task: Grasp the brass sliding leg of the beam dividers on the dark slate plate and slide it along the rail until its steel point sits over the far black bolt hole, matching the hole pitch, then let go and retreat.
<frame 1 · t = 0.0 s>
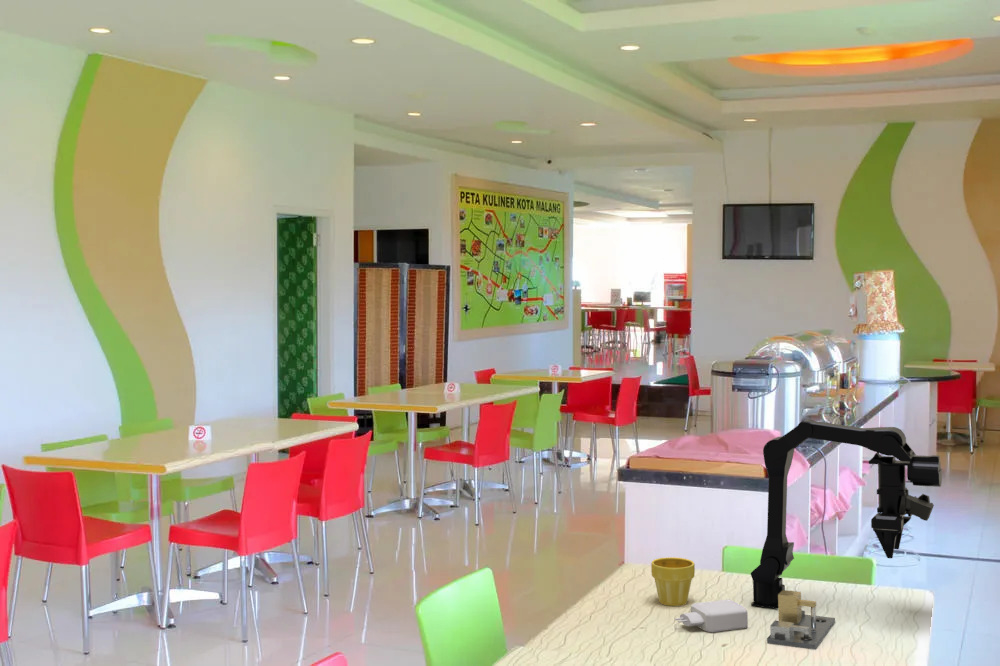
hand: (893, 553, 237), 15 cm above the table, fingers open, 9 cm apart
charger: (707, 628, 236), on the table
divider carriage: (798, 610, 230), point 5 cm above the table, slide at 0.0 cm
plant pot: (673, 603, 255), on the table
dividers base: (802, 632, 229), on the table
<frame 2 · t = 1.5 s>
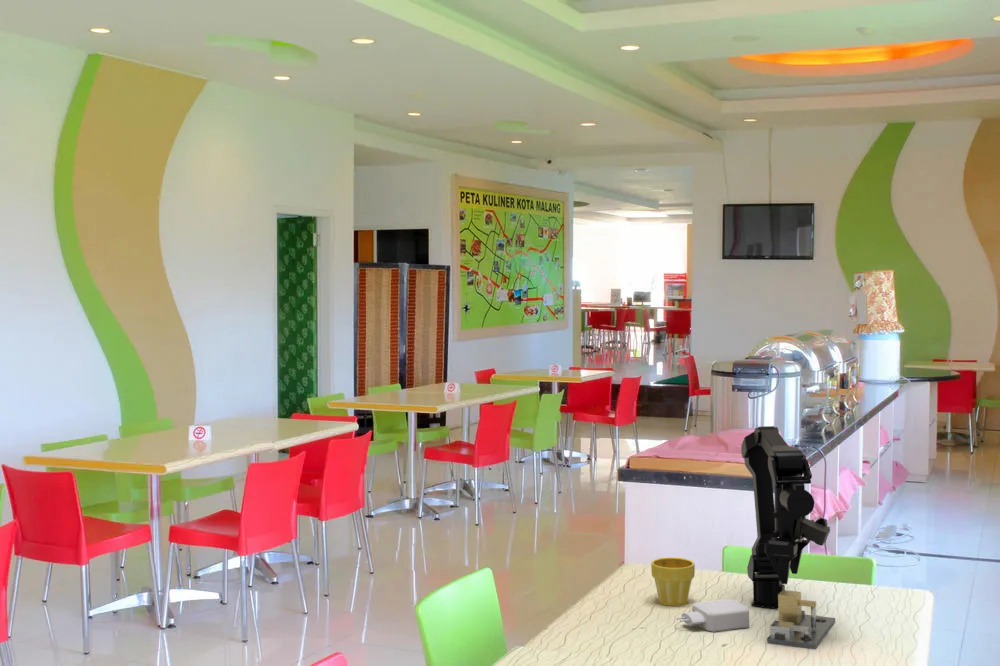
hand: (789, 578, 230), 11 cm above the table, fingers open, 9 cm apart
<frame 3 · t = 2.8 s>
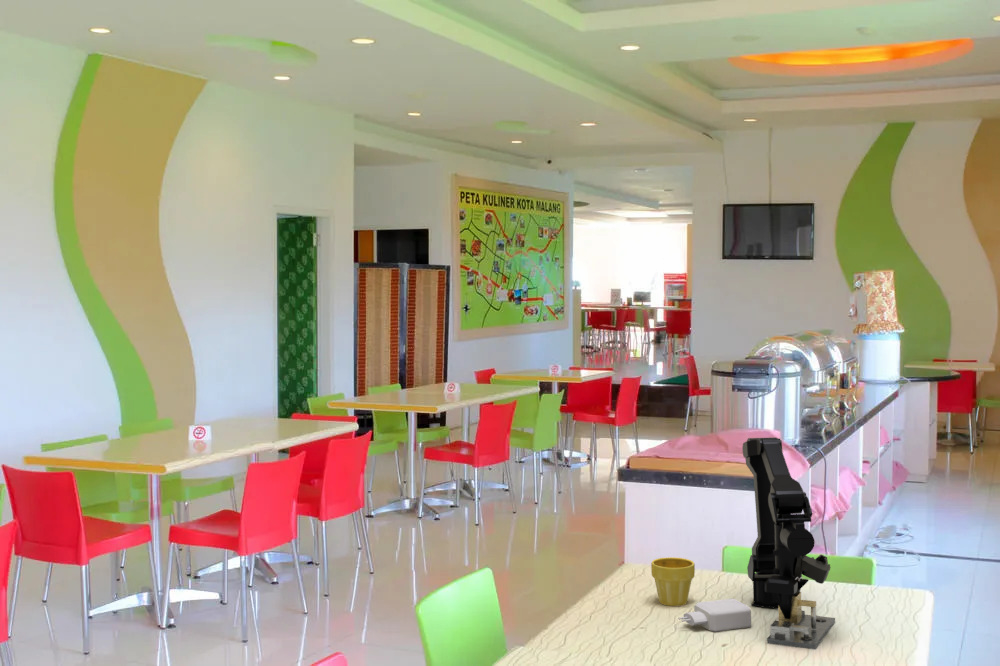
hand: (790, 615, 231), 3 cm above the table, fingers closed on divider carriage, 4 cm apart
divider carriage: (798, 610, 230), point 5 cm above the table, slide at 0.0 cm, touching gripper
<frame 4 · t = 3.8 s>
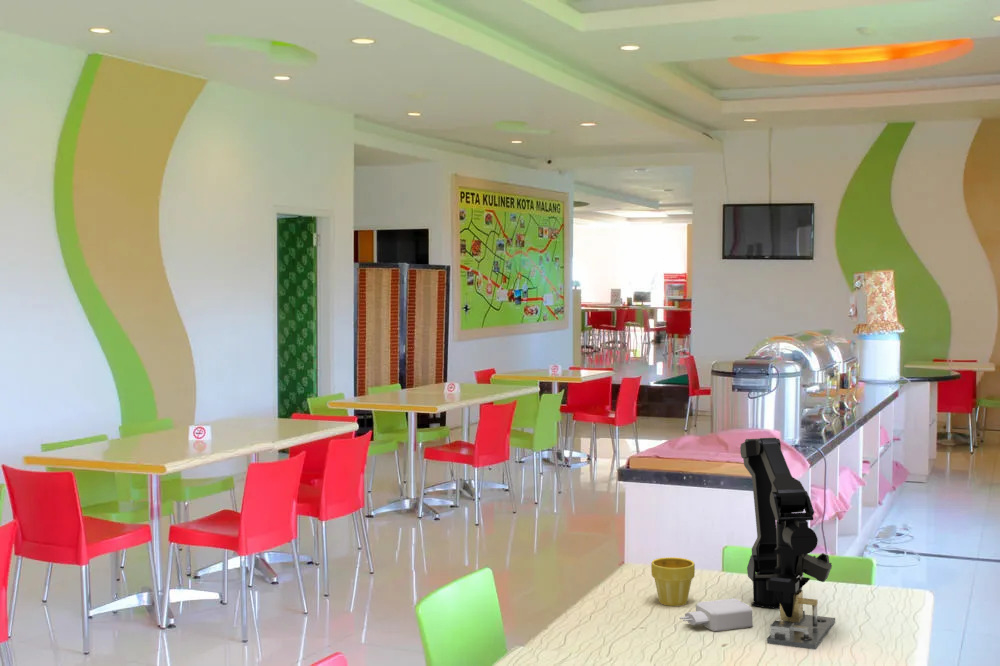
hand: (791, 614, 232), 3 cm above the table, fingers closed on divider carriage, 4 cm apart
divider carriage: (799, 608, 231), point 5 cm above the table, slide at 1.4 cm, touching gripper
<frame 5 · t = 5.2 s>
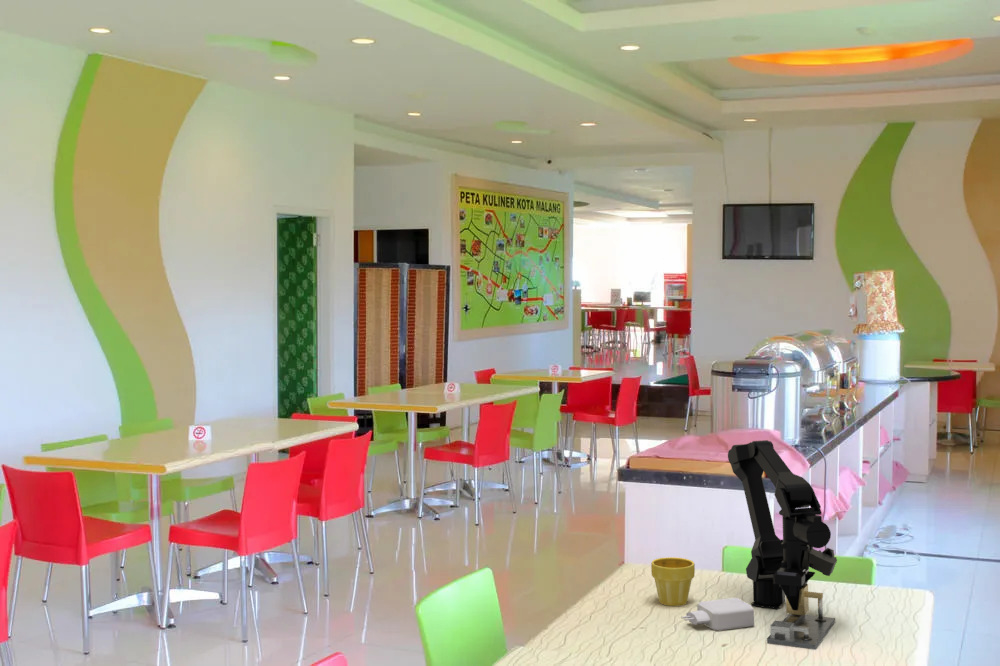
hand: (797, 607, 237), 3 cm above the table, fingers closed on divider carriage, 4 cm apart
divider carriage: (805, 601, 236), point 5 cm above the table, slide at 6.9 cm, touching gripper
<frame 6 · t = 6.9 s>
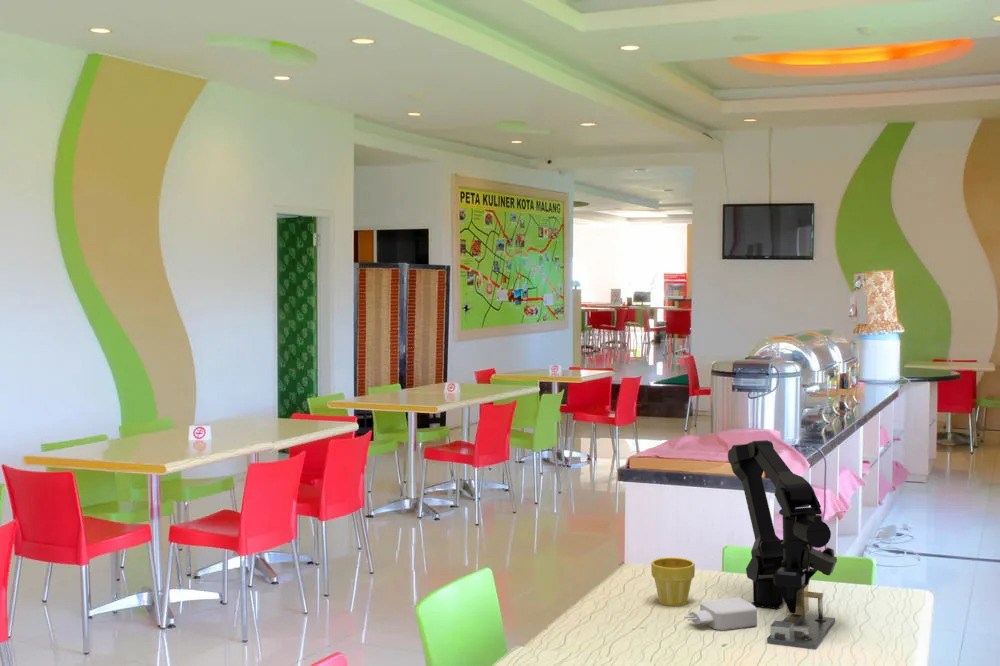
hand: (797, 607, 237), 3 cm above the table, fingers open, 9 cm apart
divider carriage: (805, 601, 236), point 5 cm above the table, slide at 7.0 cm
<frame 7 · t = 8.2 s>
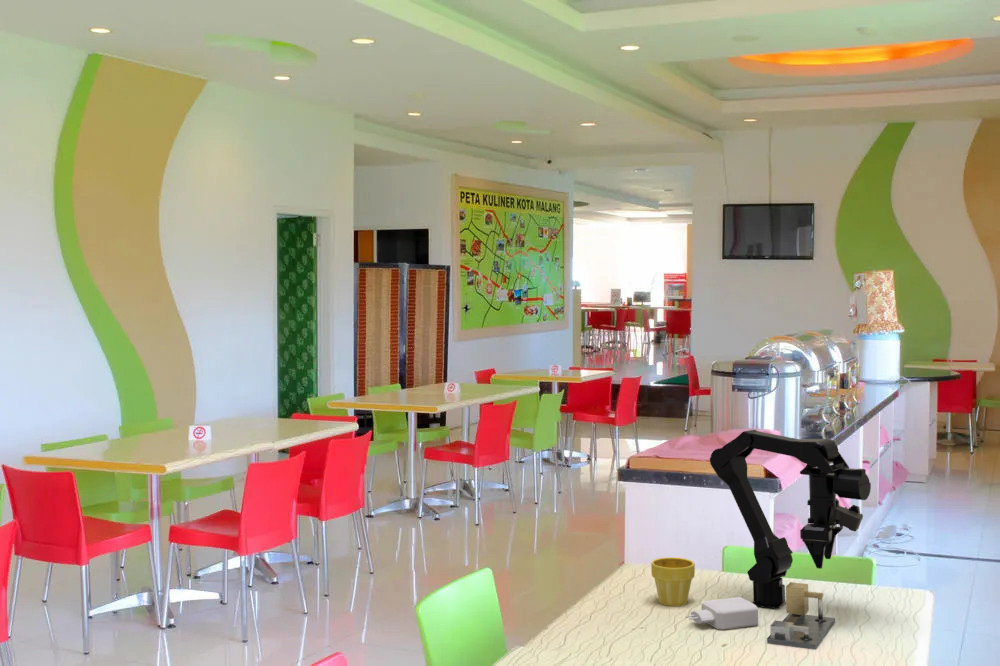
hand: (823, 563, 240), 12 cm above the table, fingers open, 9 cm apart
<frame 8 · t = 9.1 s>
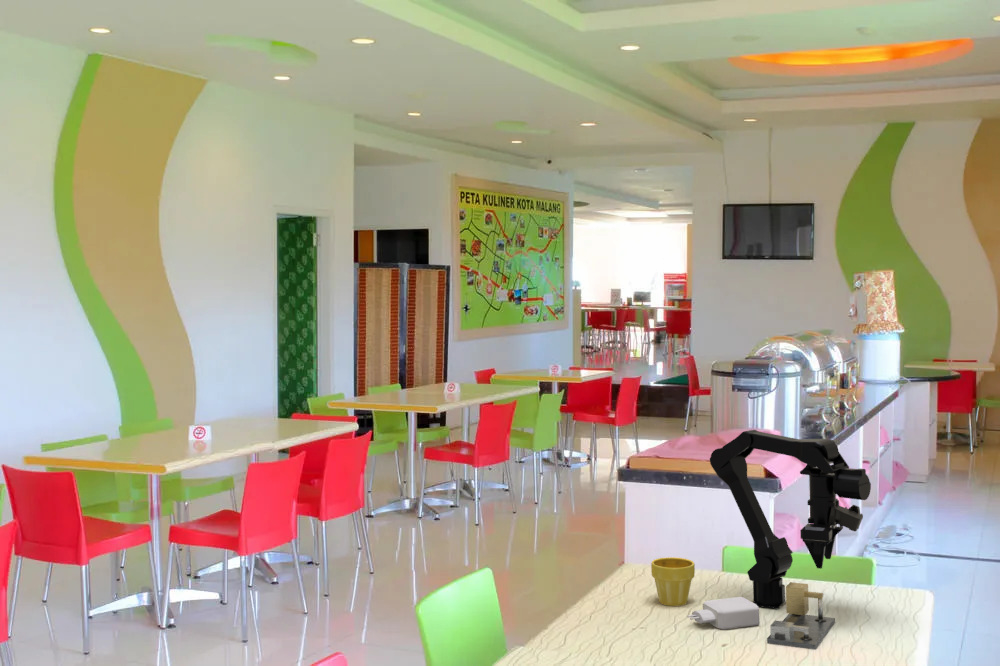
hand: (823, 563, 240), 12 cm above the table, fingers open, 9 cm apart
at the end: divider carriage slide at 7.0 cm; the gripper is holding nothing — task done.
